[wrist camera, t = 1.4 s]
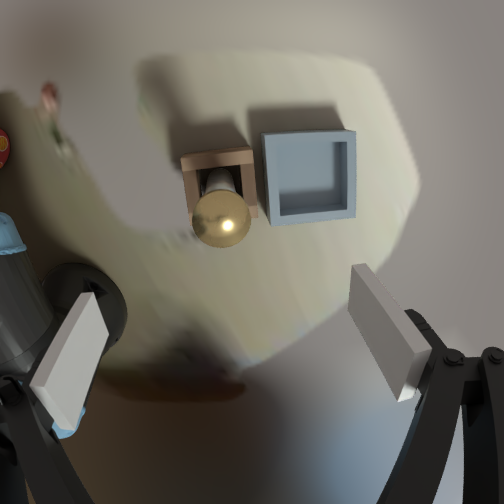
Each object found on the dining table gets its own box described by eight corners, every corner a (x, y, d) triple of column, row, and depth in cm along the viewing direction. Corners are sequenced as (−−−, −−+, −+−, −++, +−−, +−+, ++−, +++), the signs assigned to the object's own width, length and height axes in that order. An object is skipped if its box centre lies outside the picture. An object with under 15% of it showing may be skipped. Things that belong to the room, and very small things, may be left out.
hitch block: (192, 214, 41) (190, 225, 38) (184, 153, 38) (180, 158, 34) (254, 207, 42) (258, 217, 38) (249, 146, 38) (252, 150, 35)
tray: (266, 217, 42) (270, 226, 39) (260, 133, 38) (264, 135, 34) (345, 209, 43) (355, 217, 40) (345, 129, 38) (355, 131, 35)
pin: (203, 201, 41) (196, 251, 27) (198, 164, 38) (187, 196, 25) (241, 196, 41) (253, 244, 27) (237, 159, 39) (248, 188, 25)
